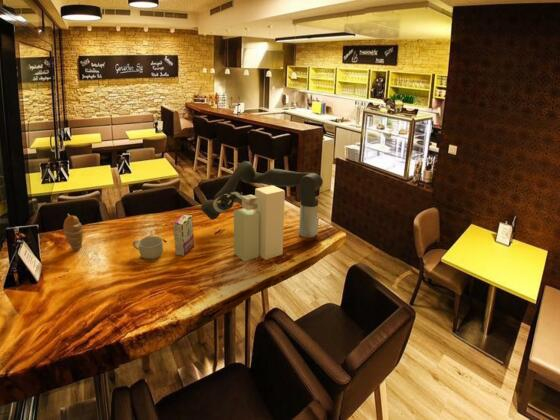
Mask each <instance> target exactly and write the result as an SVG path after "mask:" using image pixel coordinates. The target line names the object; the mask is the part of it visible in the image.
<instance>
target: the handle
mask: <svg viewBox="0 0 560 420" xmlns="http://www.w3.org/2000/svg"><path fill="white" fill-rule="evenodd" d="M239 193H240V192H238V191H234V192H232V193H230V195H233V194H236V199H234V200H233V201H235V203H237V204H238V205H240V206H241V207H242V209H244V208H245V209H246V210H255V209H256V208H258V198H257V197H256V196H255V194H254V195H253V193H252V194H247V195H244V194H243V195H241V194H239Z"/></svg>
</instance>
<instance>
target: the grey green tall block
mask: <svg viewBox="0 0 560 420" xmlns="http://www.w3.org/2000/svg"><path fill="white" fill-rule="evenodd" d="M233 237H234V238H233V246H234V248H233V250H234V251H233V254H234V255H235V256H236V257H238V258H239V259H240V260H242V261H243V262H246V261H250V260H252V259H256V258H259V257H260V256H259V213H258V212H256V211H255V209H252V210H246V209H245V208H239V209H235V210H233Z"/></svg>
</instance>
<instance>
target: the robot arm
mask: <svg viewBox="0 0 560 420" xmlns="http://www.w3.org/2000/svg"><path fill="white" fill-rule="evenodd" d="M240 179H241V181H242V183H247V184H258V185H259V184H260V185H261V184H262V185H268V186H276V187H278V188H281V187H282V188H288V187H299V188H298V189H299V190H298V191H299V192H298V194H299V196H298V197H299V201H300V205H299V206H300V209H299V226H298V228H299V229H298V235H299V236H300V237H301V238H311V239H312V238H314V237H316V236H317V235H319V234H318V230H319V219H320V218H319V217H318V211H319V199H318V198H317V197H316V191H317V190H319V189H320V188H321V187H322V186H323V183H324V182H323V178H322V177H321V176H320V175H319V174H317V173H315V172H297V171H293V170H292V171H291V170H285V169H280V168H271V169H269V170H266V171H265V172H263V173H262V172H261V173H260V172H256V170H255V168H254V166H253V164H252V163H251V161H247V160H245V161H242V162H241V163H239V164H238V165H237V166H236V168H235V169H234V171H232V174H231V175H230V177H229V178H228V180H227V182H226V183H225V184H224V185H223V187H222V188H221V189H220V190H219V191H218V192H217V193H216V194H215V195H214V197H213V199H208V200H205V201H204V202H203V203H202V204H201V205H200V209H201V211H202V213H204V214H205V215H206V217H208V218H209V220H212V221H213V220H216V219H218V217H219V216H220V214H221V213H223V212H226V211H227V210H230V209H232V207H234V205H235V203H236V202H235V201H233V200H234V199H236V194H233V195H230V193H232V192H236V188H237V185H238V182H239V181H240ZM238 193H239V194H241V195H243V196H244V193H243V192H238Z"/></svg>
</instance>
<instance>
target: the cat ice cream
mask: <svg viewBox="0 0 560 420" xmlns="http://www.w3.org/2000/svg"><path fill="white" fill-rule="evenodd" d="M62 228H63V230H64V231H63V235H64V236H65V240H66V241H67V244H68V245H69V246H70V248H71V249H72V250H73V251H76V250H77V251H79V249H80V248H82V246H83V244H82V243H83V235H84V234H83V230H84V229H83V225H82V223H81V222H80V219H79V218H78V217H77V215H70V214H69V213H67V217H66V218H65V219H64V222H63V227H62ZM80 250H81V249H80Z"/></svg>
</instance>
